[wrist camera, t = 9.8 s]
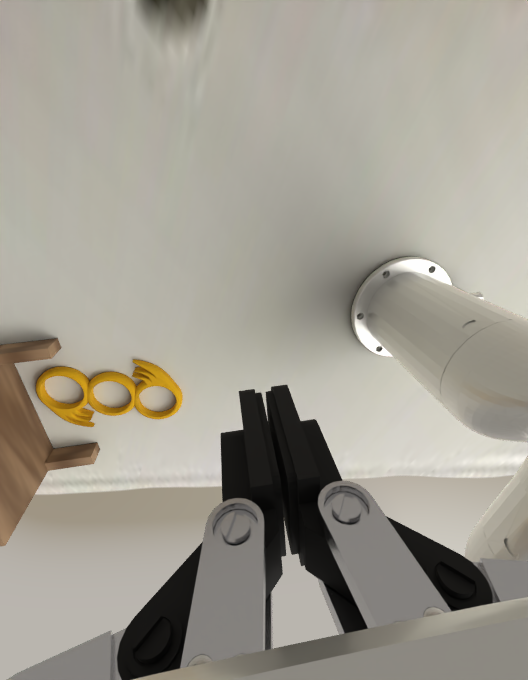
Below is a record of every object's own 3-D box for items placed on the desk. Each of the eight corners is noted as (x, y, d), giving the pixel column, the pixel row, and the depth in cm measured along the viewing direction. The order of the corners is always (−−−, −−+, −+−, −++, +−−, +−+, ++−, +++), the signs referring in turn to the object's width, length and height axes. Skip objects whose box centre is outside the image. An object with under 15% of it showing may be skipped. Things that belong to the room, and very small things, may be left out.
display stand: (57, 338, 37) (-7, 402, 26) (99, 449, 44) (63, 535, 33) (-10, 346, 36) (-103, 415, 26) (44, 457, 44) (-11, 548, 33)
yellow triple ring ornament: (178, 428, 45) (187, 363, 41) (177, 435, 44) (186, 370, 40) (42, 416, 41) (37, 345, 38) (36, 424, 40) (31, 351, 36)
